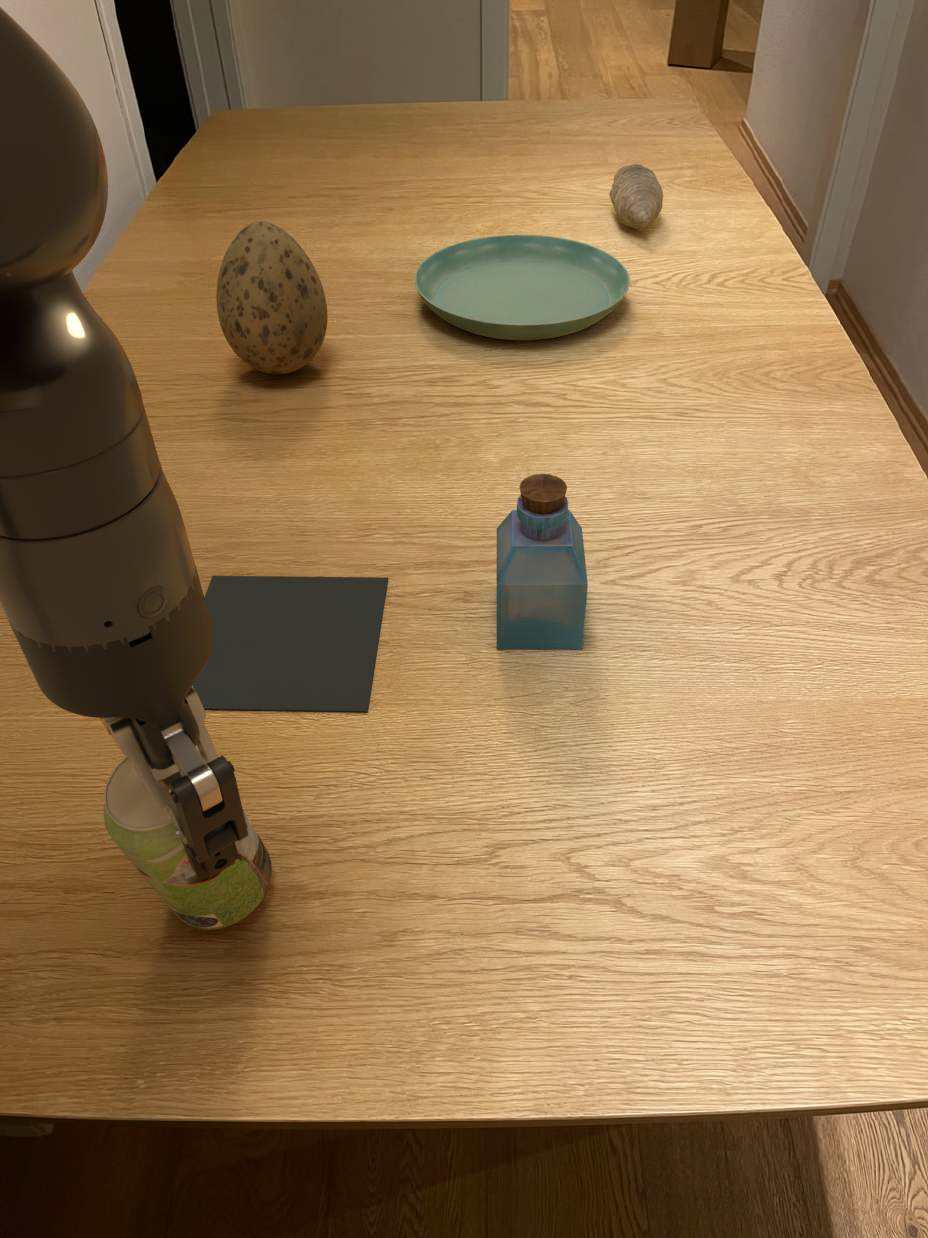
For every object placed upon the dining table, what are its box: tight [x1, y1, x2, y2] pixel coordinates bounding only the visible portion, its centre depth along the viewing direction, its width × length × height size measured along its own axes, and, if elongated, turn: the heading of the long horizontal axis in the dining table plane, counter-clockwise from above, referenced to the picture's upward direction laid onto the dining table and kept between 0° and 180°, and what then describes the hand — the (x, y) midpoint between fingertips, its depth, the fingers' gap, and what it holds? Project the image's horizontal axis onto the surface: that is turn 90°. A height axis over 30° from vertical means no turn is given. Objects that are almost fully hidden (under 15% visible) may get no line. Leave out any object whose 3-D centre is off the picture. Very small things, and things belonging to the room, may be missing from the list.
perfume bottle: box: [496, 473, 589, 650], centre depth 68 cm, size 6×6×12 cm
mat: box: [192, 575, 389, 713], centre depth 72 cm, size 14×14×1 cm
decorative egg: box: [215, 220, 329, 375], centre depth 97 cm, size 11×11×15 cm
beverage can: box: [103, 749, 273, 931], centre depth 52 cm, size 6×7×12 cm
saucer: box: [414, 234, 631, 341], centre depth 111 cm, size 24×24×3 cm
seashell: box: [608, 163, 664, 229], centre depth 126 cm, size 6×14×8 cm, turn 3°
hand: (188, 821), depth 51 cm, fingers closed on beverage can, 6 cm apart
